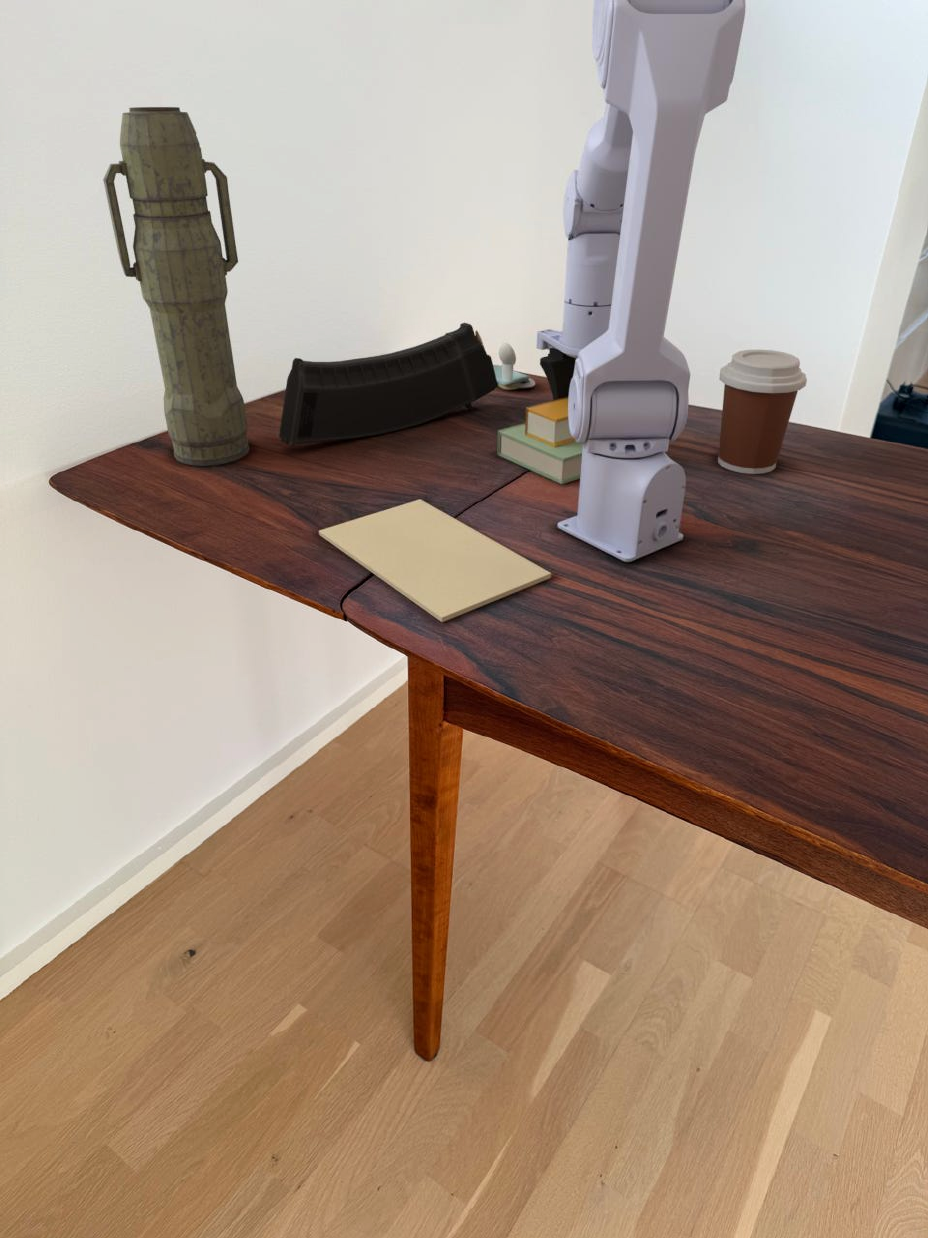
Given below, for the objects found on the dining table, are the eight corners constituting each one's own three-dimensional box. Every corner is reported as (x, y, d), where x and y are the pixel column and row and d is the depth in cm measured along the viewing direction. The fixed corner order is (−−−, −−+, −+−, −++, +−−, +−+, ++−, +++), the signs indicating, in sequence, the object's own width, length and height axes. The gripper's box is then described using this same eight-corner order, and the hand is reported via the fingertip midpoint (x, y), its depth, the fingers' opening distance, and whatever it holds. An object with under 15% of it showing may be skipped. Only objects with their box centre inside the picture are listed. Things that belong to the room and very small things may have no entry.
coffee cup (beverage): (689, 461, 98) (705, 356, 92) (735, 442, 103) (753, 342, 97) (758, 485, 92) (780, 374, 86) (803, 464, 97) (827, 358, 91)
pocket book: (604, 411, 104) (607, 385, 102) (635, 422, 100) (638, 396, 99) (524, 434, 97) (525, 407, 95) (555, 447, 94) (556, 419, 92)
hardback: (593, 426, 108) (595, 403, 106) (660, 451, 101) (663, 427, 99) (496, 454, 100) (497, 430, 98) (562, 484, 92) (563, 458, 91)
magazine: (262, 383, 93) (473, 270, 103) (250, 376, 96) (457, 266, 105) (317, 508, 105) (502, 396, 114) (305, 499, 107) (487, 390, 116)
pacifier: (511, 377, 127) (480, 383, 123) (513, 333, 123) (481, 339, 120) (544, 388, 122) (513, 395, 119) (548, 344, 119) (515, 349, 115)
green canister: (273, 454, 100) (228, 107, 81) (171, 474, 95) (98, 109, 76) (250, 432, 106) (204, 105, 88) (153, 448, 101) (83, 107, 83)
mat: (551, 577, 75) (551, 573, 75) (442, 622, 69) (441, 617, 68) (420, 503, 88) (420, 498, 88) (319, 535, 82) (318, 530, 82)
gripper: (668, 307, 88) (652, 433, 95) (570, 285, 98) (563, 401, 105) (620, 317, 85) (608, 447, 92) (524, 293, 94) (520, 412, 102)
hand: (581, 423), depth 98 cm, fingers closed on pocket book, 5 cm apart
